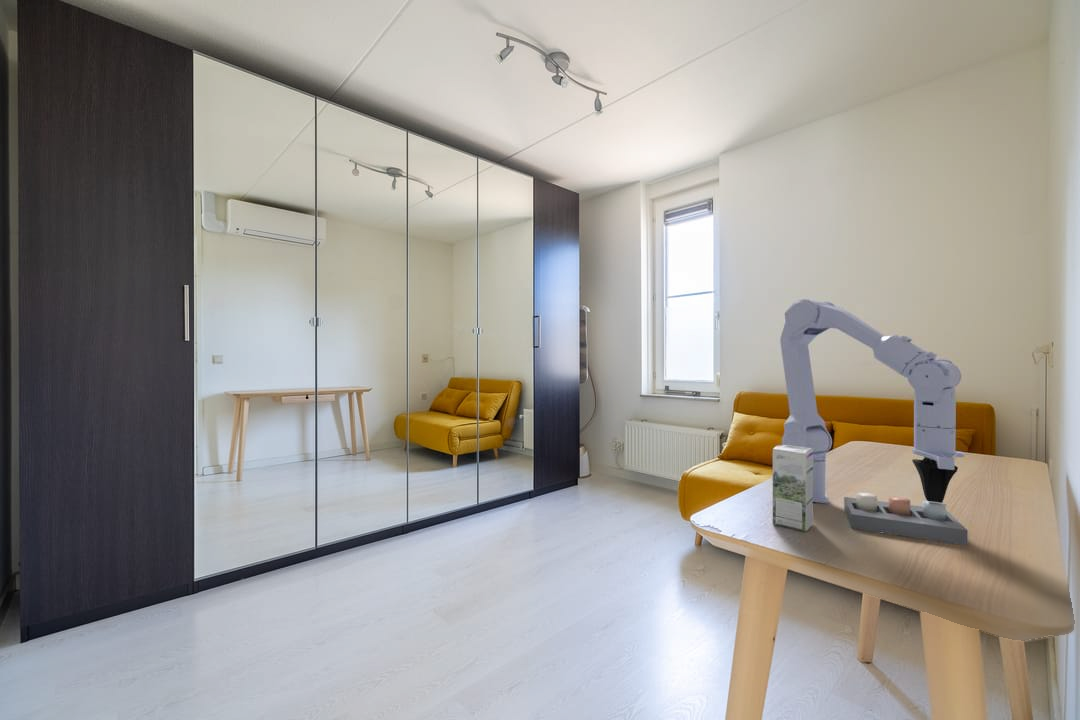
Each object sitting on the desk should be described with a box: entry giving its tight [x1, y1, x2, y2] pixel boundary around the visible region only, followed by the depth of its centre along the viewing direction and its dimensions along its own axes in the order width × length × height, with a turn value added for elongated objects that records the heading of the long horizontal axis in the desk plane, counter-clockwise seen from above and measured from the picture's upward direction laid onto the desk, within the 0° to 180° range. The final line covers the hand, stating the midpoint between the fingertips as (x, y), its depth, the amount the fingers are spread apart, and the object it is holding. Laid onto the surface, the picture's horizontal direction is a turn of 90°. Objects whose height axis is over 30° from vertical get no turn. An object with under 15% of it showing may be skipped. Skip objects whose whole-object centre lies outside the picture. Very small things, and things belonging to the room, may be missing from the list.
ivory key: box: [855, 492, 878, 512], centre depth 87 cm, size 3×3×3 cm
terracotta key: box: [887, 495, 911, 516], centre depth 85 cm, size 3×3×3 cm
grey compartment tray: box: [843, 496, 969, 547], centre depth 85 cm, size 16×12×3 cm
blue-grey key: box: [921, 499, 947, 521], centre depth 82 cm, size 3×3×3 cm
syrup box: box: [772, 444, 814, 532], centre depth 85 cm, size 6×6×14 cm
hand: (934, 501), depth 82 cm, fingers closed
